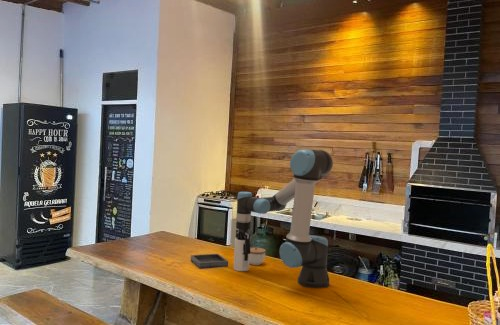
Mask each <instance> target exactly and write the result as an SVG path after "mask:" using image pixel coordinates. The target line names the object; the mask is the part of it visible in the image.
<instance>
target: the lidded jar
mask: <svg viewBox="0 0 500 325" xmlns="http://www.w3.org/2000/svg"><path fill="white" fill-rule="evenodd" d="M265 258H266V249H264V248H261V247H258V246H254V247H250V261H249V265H252V266H260V265H261V264H262V263H263V262H264V260H265Z"/></svg>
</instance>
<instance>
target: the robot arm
mask: <svg viewBox="0 0 500 325" xmlns="http://www.w3.org/2000/svg"><path fill="white" fill-rule="evenodd" d="M333 166H334V161H333V157H332V155H331V154H330V153H329V152H328V151H326V150H322V149H308V148H307V149H306V148H305V149H299V150H296V152H294V153H293V154H292V156H291V158H290V160H289V168H290V170H291V173H292V174H293V179H292V180H291V181H289V182H288V183H287V184H285V186H284V187H282V188H281V189H280V190H279V191H278V192H276V193H275V194H274V195H273V196H268V197H265V196H264V197H254V196H253V193H252V192H250V191H238V193H237V198H236V219H235V220H236V222H235V227H236V230H235V238H238V240H245V244H243V252H244V253H243V261H242V267H248V254H250V248H251V234H249V233H248V230H251V220H252V218H251V217H252V213H257V214H259V215H261V214H262V215H264V214H268V213H269V212H281V211H283V210H285V209H286V208H287V205H288V203H289V202H291V201H292V200H293V205H292V214H291V222H290V229H289V230H290V231H289V233H288V234H286V236H285V237H286V238H285V242H283V243H282V244H281V245H280V247H279V250H278V251H279V258H280V260H281V261H282V263H283V264H284V265H285V266H286V267H288V268H292V269H293V268H300V267H301V269H300V272H299V275H298V277H297V283H298V284H299V285H300V286H303V287H305V288H306V287H307V288H312V289H325V288H328V287H329V286H330V277H329V273H328V269H327V268H328V267H327V266H328V250H329V241H328V238H326V237H324V236H319V235H313V234H310V227H311V219H312V211H313V205H314V204H313V203H314V197H315V188H316V184H317V183H318V182H320V181H321V180H322V179H323V178H325V177H326V176H327V175H328V174H330V172H331V171H332V169H333ZM233 247H235V245H234V246H233Z"/></svg>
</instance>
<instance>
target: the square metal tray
mask: <svg viewBox="0 0 500 325" xmlns="http://www.w3.org/2000/svg"><path fill="white" fill-rule="evenodd" d="M190 262H191V263H192V264H193V265H195V266H196V268H198V269H199V270H200V269H201V270H202V269H215V268H229V260H227V259H226V258H225V257H224V256H222V255H220V254H219V253H208V254H191V255H190Z"/></svg>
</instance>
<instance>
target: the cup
mask: <svg viewBox="0 0 500 325" xmlns="http://www.w3.org/2000/svg"><path fill="white" fill-rule="evenodd" d="M243 244H245V240H238V238H236V237H235V238H234V246H235V247H234V246H233V247H234V251H233V270H234V271H237V272H248V271H249V270H250V263H249V261H250V254H248V267H242V261H243V253H244V252H243Z"/></svg>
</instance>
